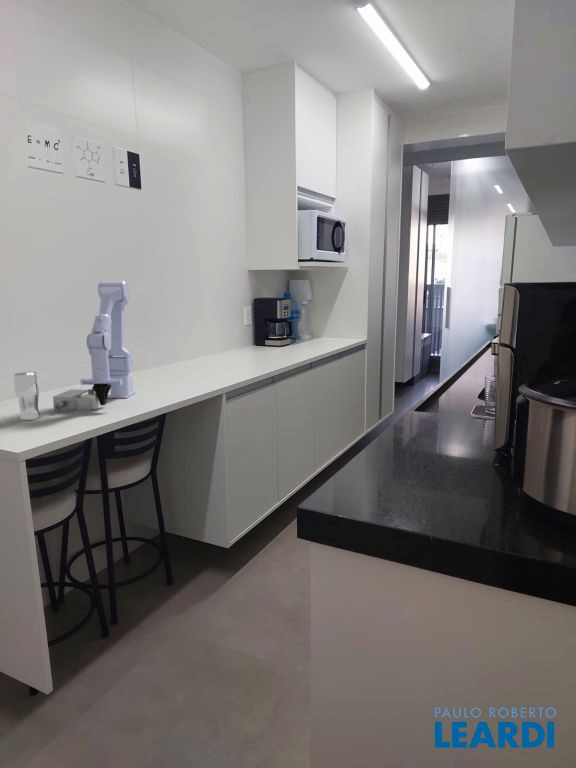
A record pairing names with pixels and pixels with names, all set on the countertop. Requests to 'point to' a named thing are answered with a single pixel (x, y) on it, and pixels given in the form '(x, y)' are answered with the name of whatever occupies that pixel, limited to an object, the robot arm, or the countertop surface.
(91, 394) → the white block
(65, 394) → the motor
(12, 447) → the countertop surface
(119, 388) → the robot arm
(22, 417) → the beer glass
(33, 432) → the countertop surface
